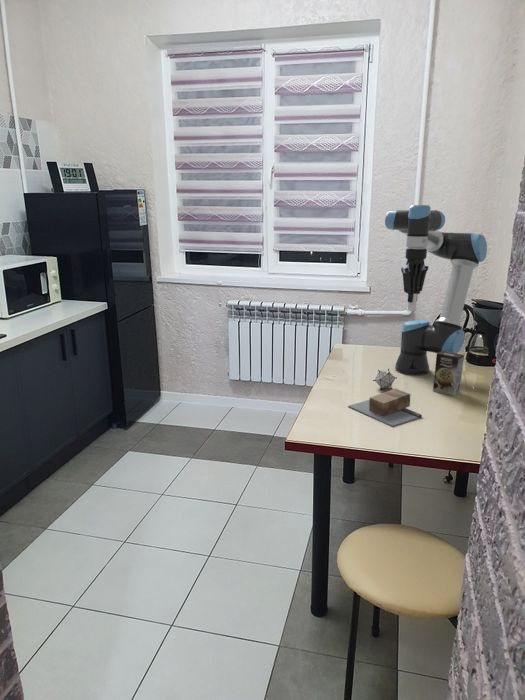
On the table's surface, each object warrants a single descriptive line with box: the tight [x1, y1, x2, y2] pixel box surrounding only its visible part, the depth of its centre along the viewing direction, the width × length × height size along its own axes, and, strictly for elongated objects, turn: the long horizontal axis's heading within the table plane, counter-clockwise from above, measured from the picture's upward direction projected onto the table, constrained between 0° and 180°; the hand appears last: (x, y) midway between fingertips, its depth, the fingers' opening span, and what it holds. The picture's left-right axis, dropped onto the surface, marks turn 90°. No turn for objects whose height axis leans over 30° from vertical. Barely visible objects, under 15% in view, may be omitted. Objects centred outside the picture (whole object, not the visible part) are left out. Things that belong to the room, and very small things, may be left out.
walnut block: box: [368, 388, 411, 416], centre depth 190 cm, size 5×7×14 cm
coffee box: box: [432, 351, 465, 397], centre depth 208 cm, size 9×6×16 cm
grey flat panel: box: [348, 399, 423, 428], centre depth 189 cm, size 15×22×1 cm
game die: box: [372, 368, 398, 390], centre depth 213 cm, size 9×8×10 cm
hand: (411, 310), depth 197 cm, fingers closed
